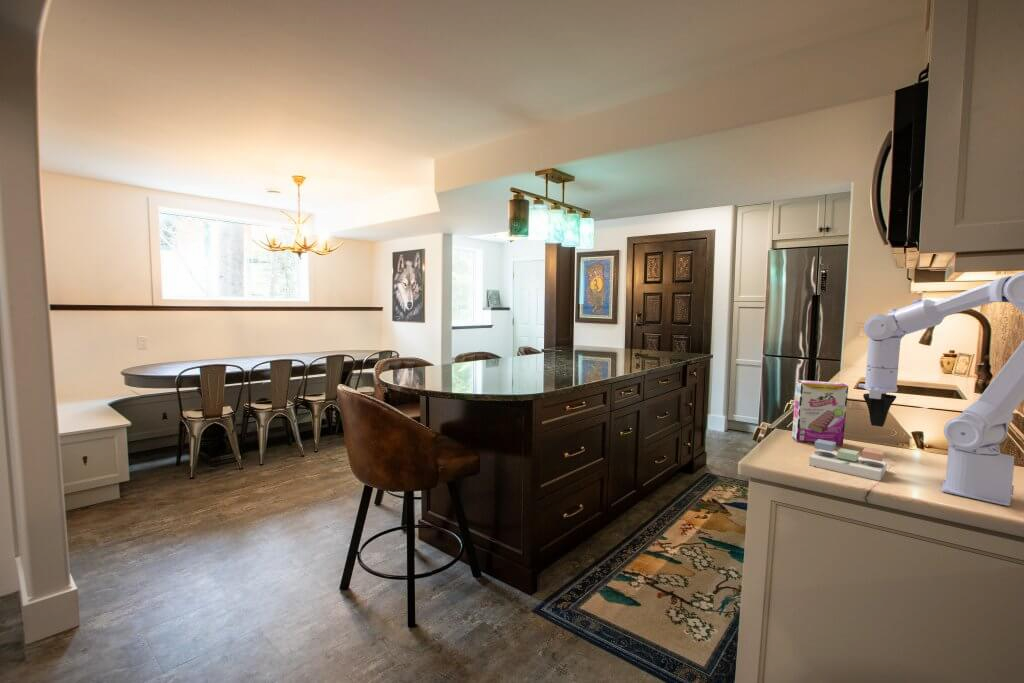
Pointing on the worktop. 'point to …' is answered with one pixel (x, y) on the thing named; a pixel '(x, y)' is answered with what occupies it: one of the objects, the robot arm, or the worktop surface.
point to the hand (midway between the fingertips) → (877, 425)
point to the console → (848, 465)
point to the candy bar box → (819, 411)
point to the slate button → (825, 445)
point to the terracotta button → (873, 454)
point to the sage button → (848, 454)
